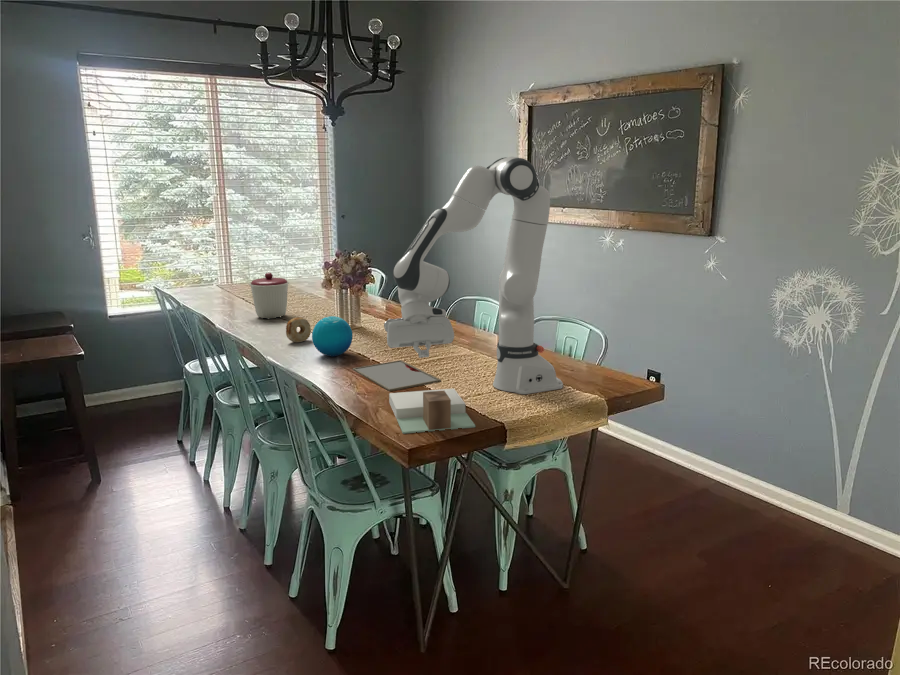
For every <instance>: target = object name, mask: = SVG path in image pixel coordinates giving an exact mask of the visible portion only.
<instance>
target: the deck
mask: <svg viewBox="0 0 900 675" xmlns="http://www.w3.org/2000/svg"><path fill="white" fill-rule="evenodd" d="M431 391H445V392H446V394H447V395H448V397H449V398H450V400H451V414H460V413H466V402H465V401H464V400H463V398H462V396H460V395H459V393H458V392H457V390H456V389H455V388H445V389H443V388H442V389H429V390H427V389H426V390H415V391H405V392H404V391H403V392H390V393H388V398H389V400H388V403H389V405H390V407H391V410H392V411H393V414H394V417H395V419H396V420H397V419H400V418H412V417H423V392H431Z"/></svg>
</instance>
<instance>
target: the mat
mask: <svg viewBox="0 0 900 675" xmlns="http://www.w3.org/2000/svg"><path fill="white" fill-rule="evenodd" d="M396 421H397V424H398V426H399V427H400V431H401V433H402V434H405V435H406V434H414V433H416V432H417V433H426V432H425V431H428V432H436V431H435V430H439V431H446V430H445V429H451V430H459V429H458V428H462V429H471V428H476V424H475V423H474V421H473V420H472V418H470V416H469V415H468V413H467V412H465V413H460V414H451V428H444V429H433V430H429V429H428V427H427V425H426V423H425V422H424V420H423V417H412V418H400V419H396Z"/></svg>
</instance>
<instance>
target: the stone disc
mask: <svg viewBox="0 0 900 675" xmlns="http://www.w3.org/2000/svg"><path fill="white" fill-rule="evenodd" d="M298 327H299V331H298ZM285 335H286V337H287V339H288V340H289V341H290V342H292V343H301V342H304V341H307V340H308V339H309V338H310V336H311V335H312V328H311V324H310V322H309V321H308V319H306V318H304V317H300V316H299V317H298V316H297V317H293V318H290V320H288V322H287V323H286V326H285Z"/></svg>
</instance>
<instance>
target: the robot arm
mask: <svg viewBox="0 0 900 675" xmlns="http://www.w3.org/2000/svg"><path fill="white" fill-rule="evenodd" d="M501 193H502V194H504V195H506V196H511V197H512V199H513V208H514V209H513V210H512V215H511V221H510V227H509V232H508V237H507V242H506V248H505V249H506V250H505V256H504V263H503V269H502V270H501V272H500V274H499V277H498V279H499V280H498V342H497V345H496V346H497V347H496V359H497V365H496V370H495V376H494V379H493V382H492V386H493V387H494V388H495V389H497V390H499V391H500V390H501V391H503V392H504V391H505V392H509V393H516V394H519V395H529V394H535V393H541V392H548V391H554V390H560V389H563V387H564V383H563V381H562V380H561V379H560V378H558V377H557V373H556V369H555V368H554V365H553V364H552V363H550V362H549V361H548V360H547V359H545V358H544V357H543V356H542V355H540V354H542V353H544V351H545V348H544V347H543V346H542V345H540V344H537V343H535V342H534V335H535V334H534V333H535V332H534V331H535V330H534V329H535V314H534V311H535V310H534V307H535V306H534V304H535V303H534V297H535V295H536V292H537V289H538V283H539V276H540V271H541V270H540V269H541V263H542V255H543V249H544V244H545V239H546V234H547V230H548V224H549V217H550V209H551V195H550V192H549V190H548V189H547V188H546V187H544V186H543V185H540V182H539V180H538V176H537V171H536V169H535V167H534V165H533V164H532V163H531V162H530V161H529V160H527V159H526V158H522V157H518V156H507V157H501V158H499V159H497V160H495V161H494V162H493V163H491V164H490V165H488V166H487V167H485V166H481V165H472V166H470V167H469V168H468V169H467V170H466V171H465V173H464V174H463V175H462V177H461V179H460V180H459V181H458V184H456V187H455V189H454V190H453V193H452V194H451V196H450V198H449V200H448V201H447V202H446V204H445V205H443V206H442V207H440V208H438V209H435V210H434V211H433V212H432V213H431V214H430V216H429V217H428V218H427V220H426V222H425V223H424V224H423V226H422V227H421V228H420V230H419V232H418V233H417V235H416V237H415V238H414V239H413V241H412V242H411V244H410V245H409V246H408V248H407V250H406V251H405V252H404V254H403V255H401V257H400V258H399V259H397V262H396V263H395V264H394V267H393V270H392V276H393V280H394V282H395V284H396V286H397V293H398V300H399V303H400V305H401V306H400V307H401V309H400V311H401V318H388V319H387V320H386V321H384V323H383V327H384V330H385V332H386V342H387V346H388V347H389V348H390V349H392V348H394V349H395V348H406V347H413V350H414V352H416V353H417V354H418V358H420V359H421V358H429V357H430V349H431V346H432V345H444V344H445V345H446V344H452V343H453V341H454V339H455V332H454V328H453V325H452V323H451V320H450V319H449V318H448V317H447V311H446V309H443V308H438V307H434V306H430V303H432V302H435V301H437V300H438V299H440V298H442V297H443V296H444V295H446V294H447V292H448V291H449V288H450V285H451V284H450V283H451V279H450V278H451V277H450V275H449V272H448V271H447V270H446V269H444V268H443V267H440V266H438V265H435V264H431V263H430V262H426V261H424V259H425V258H426V257H427V255H428V253H429V251H431V249H432V247H433V246H434V244H435V243H436V242H437V240H438V239H439V238H440V237H441V236H443V235H446V234H449V233H463V232H469V231H471V230H473V229H475V228H476V227H478V225H479V224H480V222H481V221H482V219H483V217H484V216H485V213H486V211H487V209H488V206H489V205H490V202H491V201H492V199H493V198H494V197H495V196H496V195H497V194H501ZM420 346H425V348H426V349H421V348H420ZM539 353H540V354H539Z"/></svg>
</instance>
